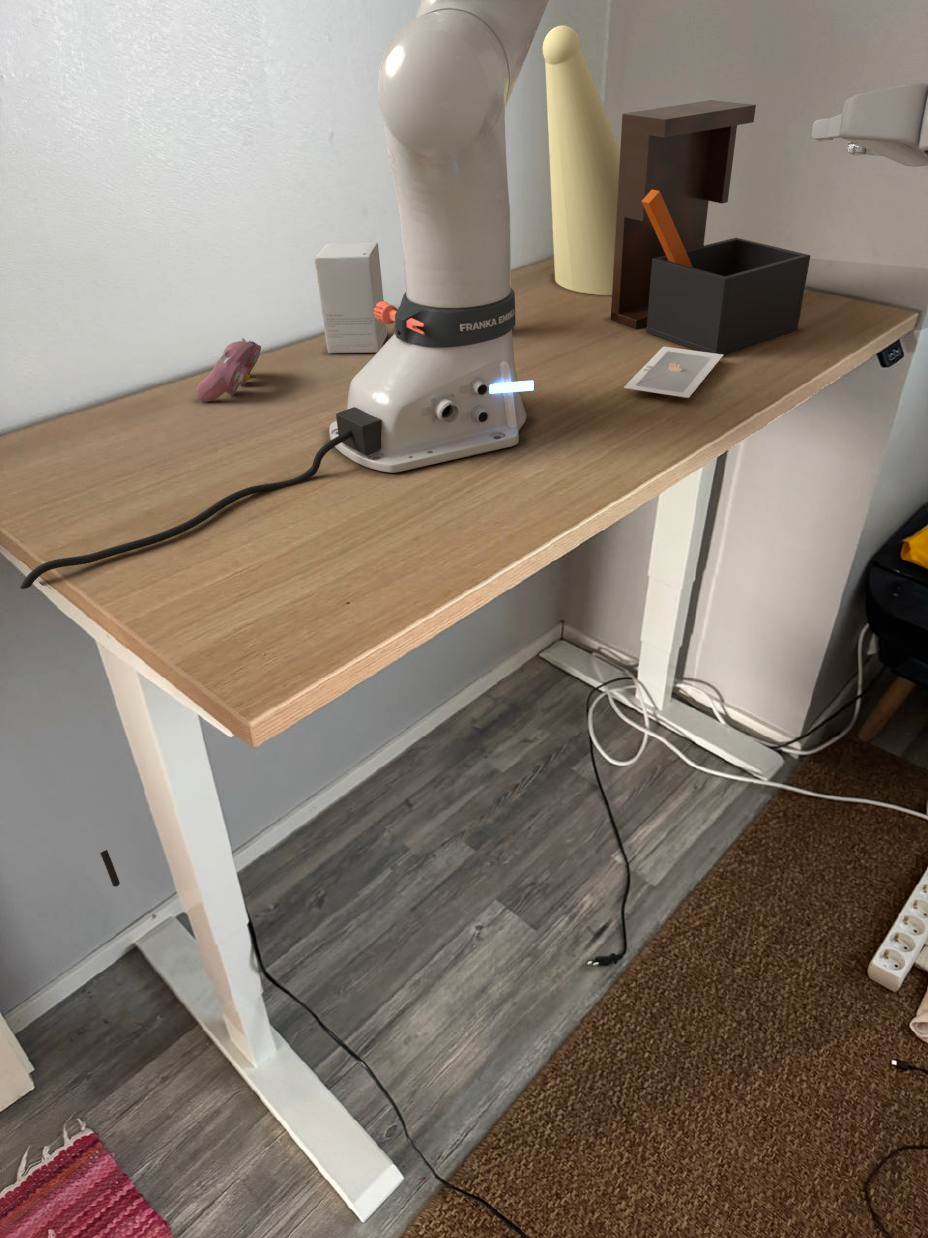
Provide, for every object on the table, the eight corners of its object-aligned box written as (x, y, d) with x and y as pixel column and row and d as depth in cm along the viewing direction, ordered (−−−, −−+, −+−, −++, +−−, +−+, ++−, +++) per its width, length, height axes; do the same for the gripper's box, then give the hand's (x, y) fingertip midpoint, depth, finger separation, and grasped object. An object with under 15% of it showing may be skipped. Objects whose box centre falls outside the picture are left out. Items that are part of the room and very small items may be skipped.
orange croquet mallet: (658, 221, 108) (629, 214, 111) (711, 340, 123) (684, 331, 127) (693, 181, 108) (663, 175, 112) (742, 305, 123) (714, 296, 127)
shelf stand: (648, 333, 125) (666, 119, 110) (610, 319, 130) (622, 113, 115) (729, 308, 132) (756, 104, 117) (689, 297, 137) (710, 99, 122)
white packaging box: (388, 335, 128) (380, 240, 121) (379, 354, 122) (370, 255, 115) (337, 335, 129) (325, 241, 122) (325, 354, 123) (312, 256, 116)
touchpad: (722, 363, 115) (724, 346, 114) (687, 406, 105) (689, 388, 103) (662, 354, 118) (663, 338, 117) (622, 396, 108) (623, 378, 106)
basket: (715, 357, 117) (725, 278, 111) (646, 332, 125) (652, 258, 120) (797, 330, 124) (811, 254, 118) (726, 308, 132) (736, 237, 127)
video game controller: (225, 416, 111) (240, 367, 107) (191, 399, 111) (204, 349, 106) (256, 385, 119) (271, 339, 115) (224, 369, 118) (238, 321, 114)
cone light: (607, 256, 157) (620, 12, 137) (693, 276, 146) (721, 14, 125) (502, 287, 145) (499, 25, 124) (587, 312, 133) (599, 27, 113)
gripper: (1006, 111, 97) (874, 123, 105) (944, 67, 82) (798, 85, 91) (992, 176, 99) (864, 183, 107) (930, 144, 84) (787, 155, 93)
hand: (833, 138), depth 99 cm, fingers open, 8 cm apart
